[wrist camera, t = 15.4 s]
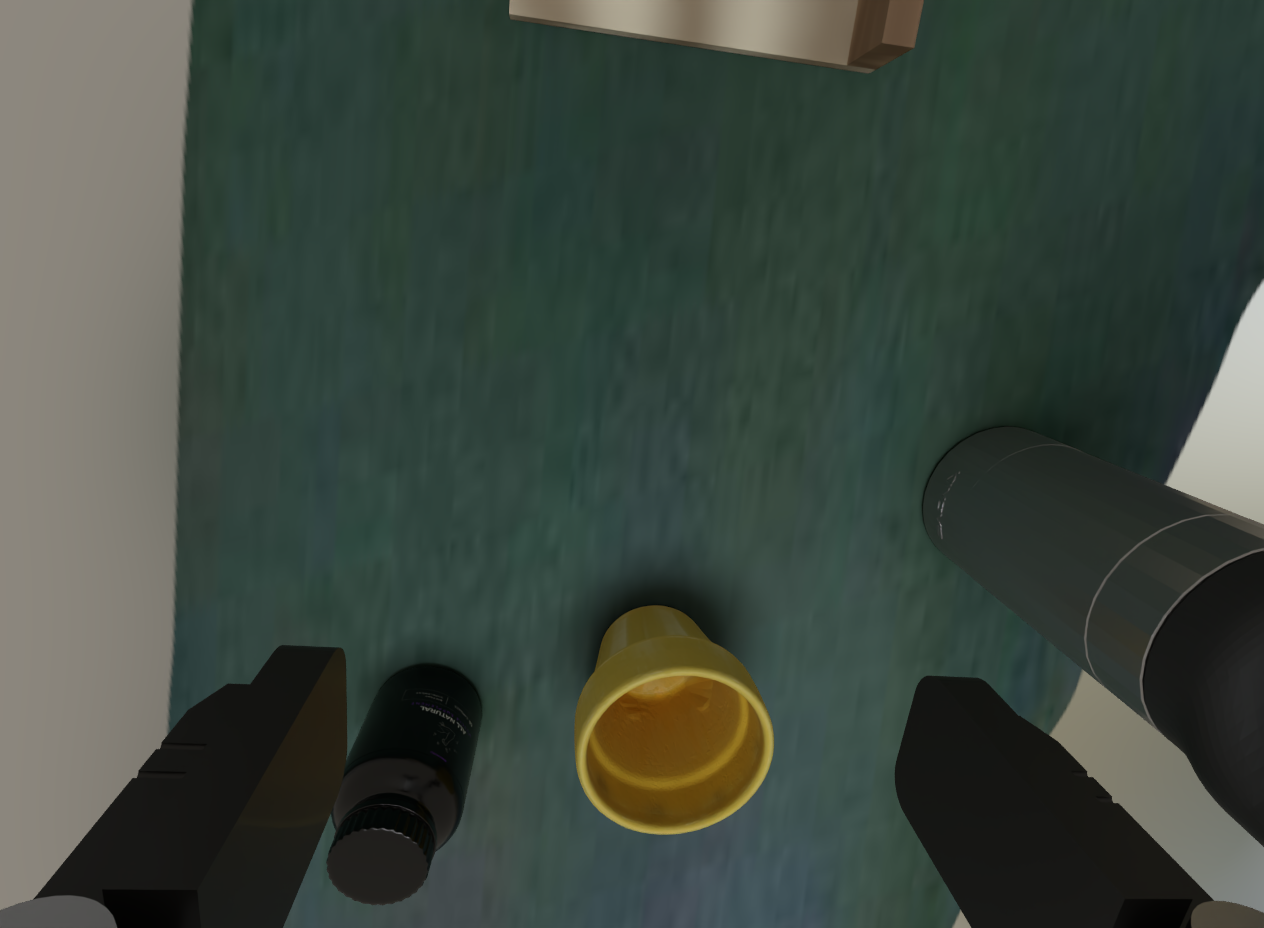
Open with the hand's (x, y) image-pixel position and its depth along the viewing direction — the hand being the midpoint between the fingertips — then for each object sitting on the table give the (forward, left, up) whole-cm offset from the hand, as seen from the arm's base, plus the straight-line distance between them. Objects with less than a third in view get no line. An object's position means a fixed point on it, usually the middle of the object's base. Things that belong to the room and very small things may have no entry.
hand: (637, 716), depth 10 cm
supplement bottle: (+8, +23, -30) cm, 39 cm away
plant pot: (-6, +18, -30) cm, 36 cm away
